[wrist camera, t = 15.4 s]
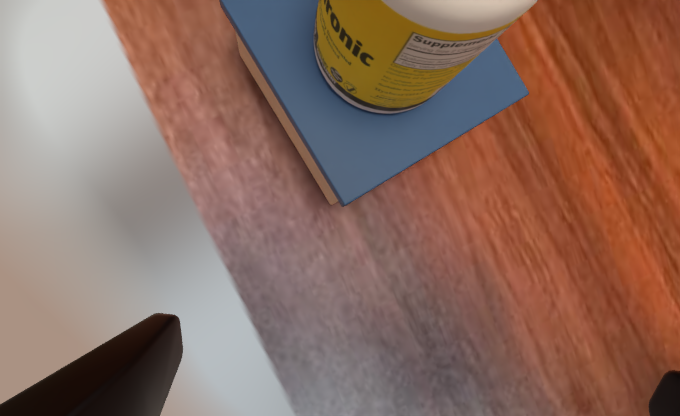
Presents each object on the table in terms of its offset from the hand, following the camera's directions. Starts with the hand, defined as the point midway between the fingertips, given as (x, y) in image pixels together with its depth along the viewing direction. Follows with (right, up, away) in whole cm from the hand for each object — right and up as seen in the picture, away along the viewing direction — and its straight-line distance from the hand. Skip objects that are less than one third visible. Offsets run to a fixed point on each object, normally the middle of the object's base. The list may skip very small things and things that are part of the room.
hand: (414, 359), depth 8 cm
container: (0, +9, +13) cm, 15 cm away
